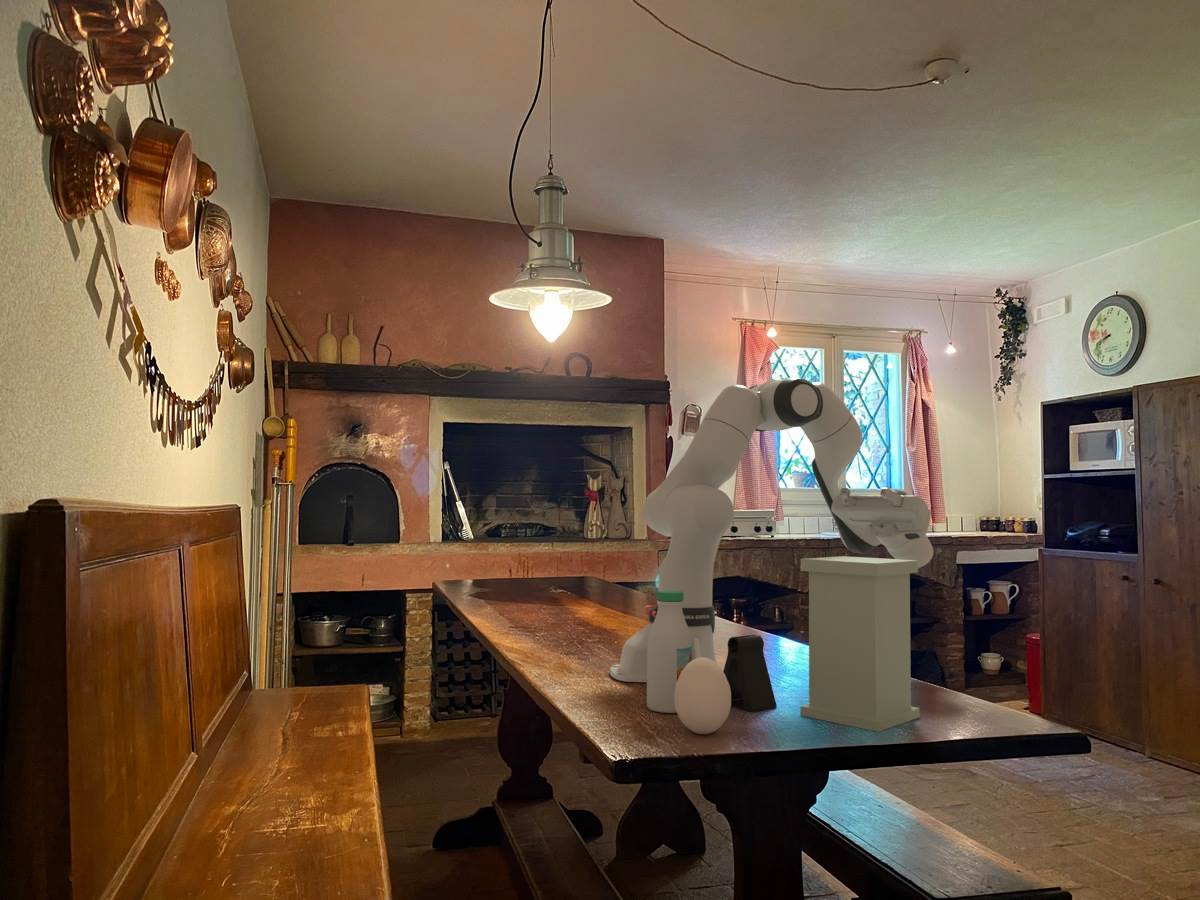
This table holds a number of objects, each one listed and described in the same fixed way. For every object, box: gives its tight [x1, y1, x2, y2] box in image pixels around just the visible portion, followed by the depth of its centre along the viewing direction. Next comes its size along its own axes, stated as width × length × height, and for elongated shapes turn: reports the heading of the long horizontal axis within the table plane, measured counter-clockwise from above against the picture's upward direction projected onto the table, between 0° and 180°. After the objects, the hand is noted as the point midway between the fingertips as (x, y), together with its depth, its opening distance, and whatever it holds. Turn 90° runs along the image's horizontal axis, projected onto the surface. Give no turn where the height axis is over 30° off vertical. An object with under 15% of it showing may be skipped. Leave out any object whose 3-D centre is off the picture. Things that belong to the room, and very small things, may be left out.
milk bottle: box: [646, 590, 692, 714], centre depth 148 cm, size 8×8×20 cm
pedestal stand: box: [800, 555, 921, 733], centre depth 145 cm, size 14×14×26 cm
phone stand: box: [722, 634, 777, 713], centre depth 151 cm, size 9×6×12 cm, turn 36°
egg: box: [674, 657, 732, 735], centre depth 132 cm, size 9×9×11 cm
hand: (863, 490), depth 181 cm, fingers open, 8 cm apart
